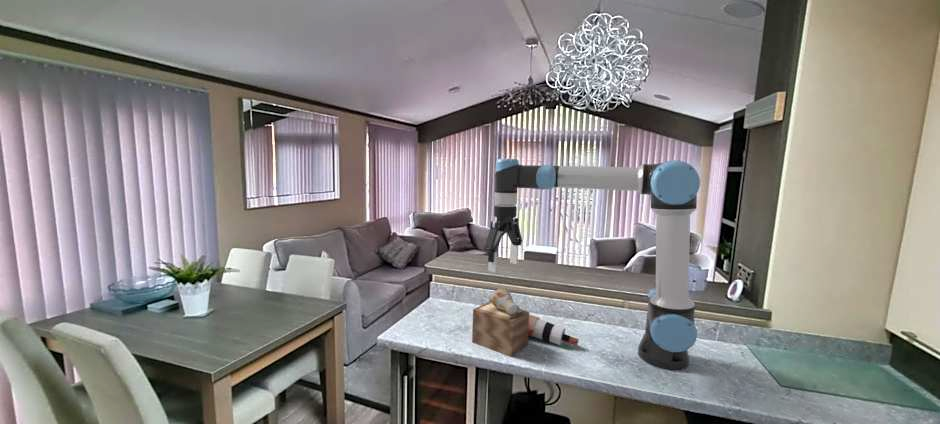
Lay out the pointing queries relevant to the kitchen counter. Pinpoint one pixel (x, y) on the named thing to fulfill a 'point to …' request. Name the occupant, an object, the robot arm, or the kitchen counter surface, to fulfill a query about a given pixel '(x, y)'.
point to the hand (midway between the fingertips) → (503, 267)
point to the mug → (504, 301)
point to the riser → (500, 329)
